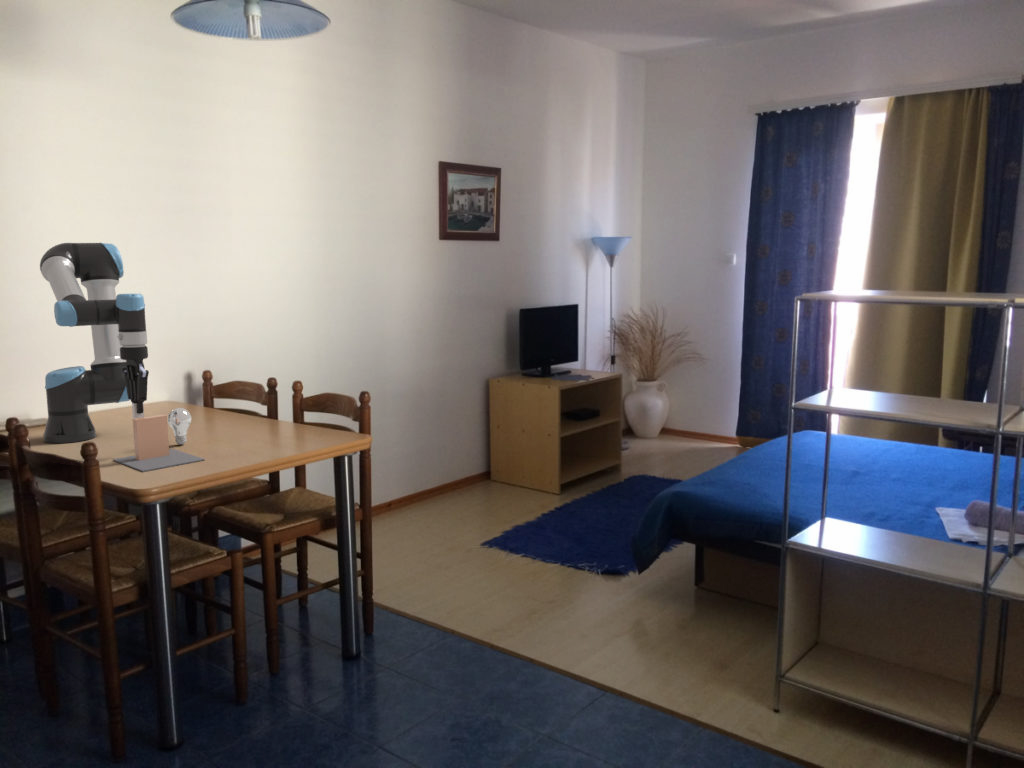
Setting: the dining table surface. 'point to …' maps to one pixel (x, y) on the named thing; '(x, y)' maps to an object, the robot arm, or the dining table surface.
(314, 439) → the dining table surface
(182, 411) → the light bulb
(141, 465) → the mat
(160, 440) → the tile
